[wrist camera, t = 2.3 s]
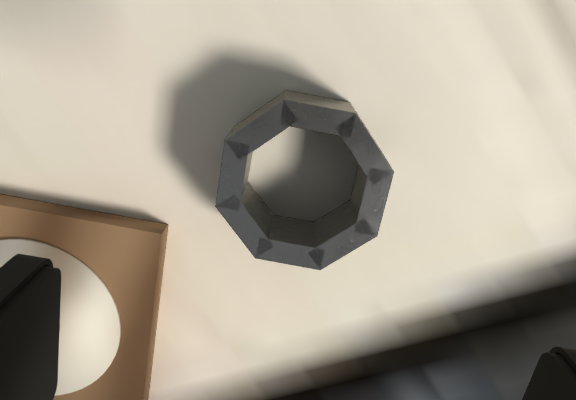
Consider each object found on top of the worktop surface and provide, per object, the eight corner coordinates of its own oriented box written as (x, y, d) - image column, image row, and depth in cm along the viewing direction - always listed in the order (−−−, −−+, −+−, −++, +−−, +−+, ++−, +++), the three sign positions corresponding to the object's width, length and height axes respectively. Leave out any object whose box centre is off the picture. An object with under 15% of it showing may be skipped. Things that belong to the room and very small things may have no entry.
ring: (394, 110, 23) (407, 122, 20) (359, 249, 25) (366, 278, 23) (241, 81, 23) (232, 89, 20) (219, 224, 25) (208, 250, 22)
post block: (168, 224, 25) (107, 313, 17) (146, 416, 29) (88, 559, 21) (-77, 180, 25) (-249, 251, 17) (-66, 380, 29) (-202, 512, 21)
